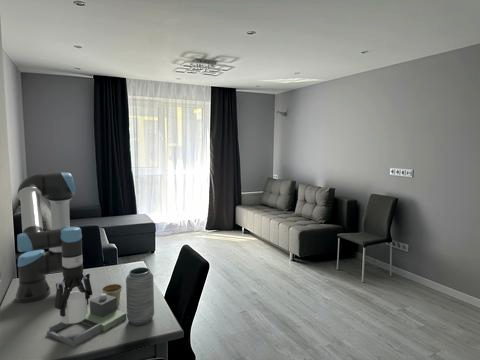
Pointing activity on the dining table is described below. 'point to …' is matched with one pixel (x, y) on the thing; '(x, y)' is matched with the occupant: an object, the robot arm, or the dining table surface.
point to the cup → (76, 307)
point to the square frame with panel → (93, 319)
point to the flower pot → (113, 291)
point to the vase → (140, 296)
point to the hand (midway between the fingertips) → (75, 317)
